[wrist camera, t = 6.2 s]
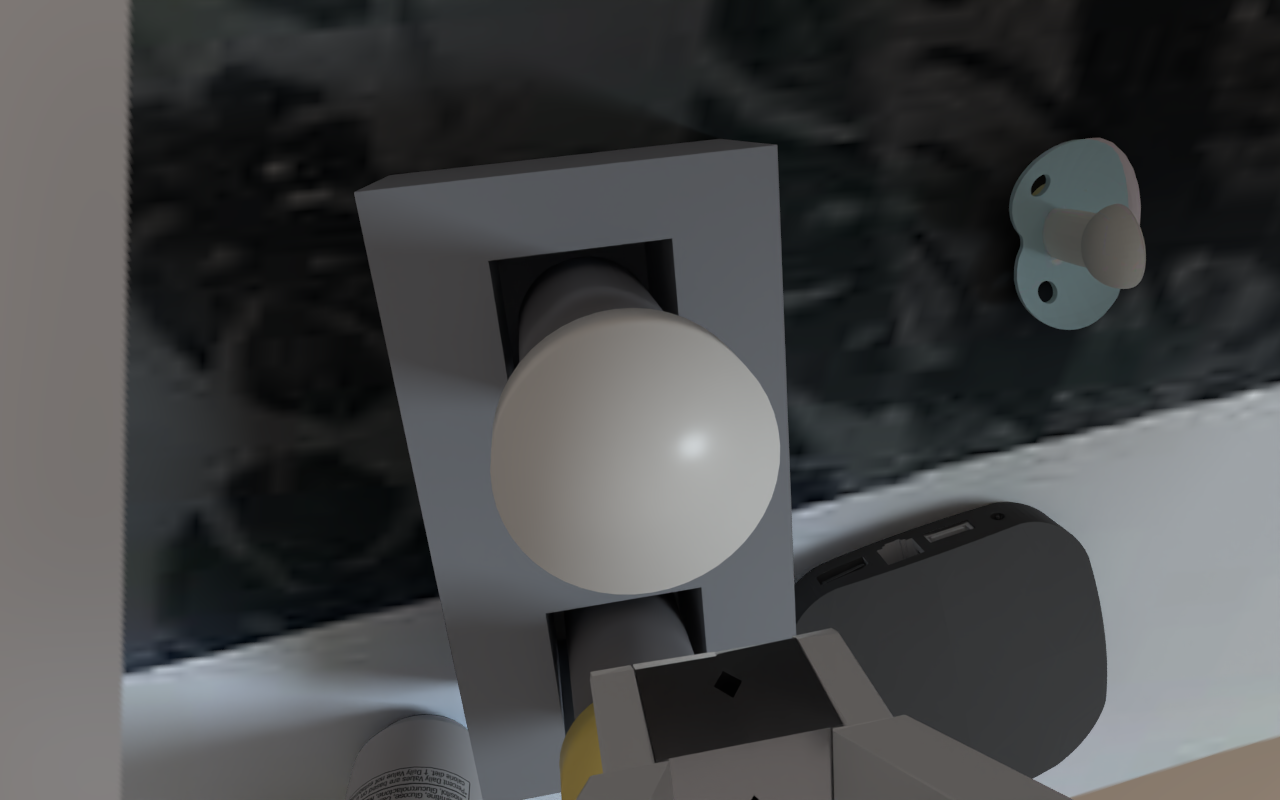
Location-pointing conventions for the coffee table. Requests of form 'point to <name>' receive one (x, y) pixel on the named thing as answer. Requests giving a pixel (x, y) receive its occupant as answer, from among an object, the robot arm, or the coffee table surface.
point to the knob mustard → (605, 644)
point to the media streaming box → (974, 630)
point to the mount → (489, 353)
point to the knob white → (627, 437)
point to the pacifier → (1077, 232)
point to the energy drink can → (416, 763)
